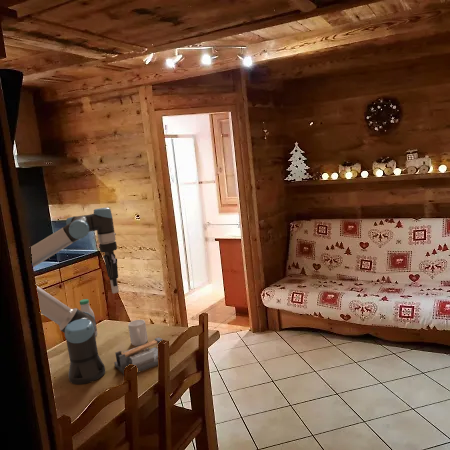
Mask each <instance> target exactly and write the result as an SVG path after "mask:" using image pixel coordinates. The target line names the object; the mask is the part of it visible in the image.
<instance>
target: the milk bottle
mask: <svg viewBox="0 0 450 450" xmlns="http://www.w3.org/2000/svg"><path fill="white" fill-rule="evenodd" d="M79 306H80V309H79V310H80V311H82V312H87V313H89V314H91V315H92V316H93V317H94V319H95V320H96V317H95V313H94V311H93V309H92V308H91V306H90V301H89V299H88V298H86V299H85V298H83V299H80V300H79ZM97 336H98V329H97V327H96V334H95V338H96V337H97Z"/></svg>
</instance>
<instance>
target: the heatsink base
mask: <svg viewBox="0 0 450 450" xmlns="http://www.w3.org/2000/svg"><path fill="white" fill-rule="evenodd" d="M154 340H155V341H157V342H158V343H159V342H160V341H162V340H163V341H164V339H163V338H161V337H156V338H154ZM137 347H138V346H135V347H133V348H131V349H128V350H125V351H123V352H122V350H119V351H117V352H114V353H115V358H116V361H114V362H113V363H114V367H115V368H116V369H117V371H119V372H120V373H122V375H124V369H125V367H126V366H128V365H129V364H133V365H136V366H137V368H138V372H139V371H142V372H144V371H147V370H150V369H152V368H154V367H157V366H159V365H158V347H155V346H153V347H152V348H151V347H148V348H146V349H144V350H141V351H139V352H137V353H134V354H132V355H130V356H127V357H125V354H122V353H125V352H127V351H130V350H132V349H134V348H137ZM119 354H120V356H119V357H118V355H119ZM121 354H122V355H121ZM149 368H150V369H149ZM146 369H147V370H146ZM143 370H144V371H143ZM139 373H140V372H139Z"/></svg>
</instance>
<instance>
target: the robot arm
mask: <svg viewBox="0 0 450 450" xmlns="http://www.w3.org/2000/svg"><path fill="white" fill-rule="evenodd" d="M65 221H66V225H65V226H63V227H61V228H60V229H59V230H57V231H55V232H53V233H52V234H50V235H48V236H46V237H45V238H44V239H42V240H40V241H38V242H37V243H35V244H33V245H32V246H30V247H31V254H32V263H33V268H35V267H36V266H38V265H40V264H41V263H43V262H45V261H46V260H48V259H50V258H51V257H53V256H55V254H58V253H59V252H60V251H62V250H64V249H66V248H67V247H68V246H71V245H72V244H73V243H75V242H77V241H78V240H81V239H83V238H85V237H86V236H88V234H89V232H96V233H97V234H96V235H97V240H98V244H99V245H98V246H99V252H100V253H104V255H102V256H103V257H102V258H103V261H104V263H105V264H104V265H105V269H106V274H107V277H108V278H109V281H110V287H111V293H112V294H117V293H120V289H119V283H118V279H119V269H118V268H119V267H118V258H117V257H116V254H115V252H114V251H117V250H118V245H117V241H116V240H117V239H116V236H117V235H116V234H117V233H115V226H114V220H113V214H112V209H111V208H110V207H100V208H99V207H98V208H95V209H94V210H93V213H91V214H86V215H76V216H70V217H67V218H66V220H65ZM37 292H38V298H39V305H40V310H41V313H40V314H41V315H43V316H45V317H46V318H47V319H49V320H51V321H52V322H53V323H55V324H57V325H58V326H59V330H60V331H61V332H63V333H64V337H65V341H66V347H67V352H68V357H69V368H68V374H67V377H68V381H69V382H70V384H73V385H86V384H90V383H92V382H94V381H97V380H99V379H100V378H102V377H103V376H104V375H105V374H106V367H105V364H104V362H103V360H102V359H101V357H100V355H99V350H98V346H97V340H96V337H95V334H96V328H97V322H96V318H95V319H94V317H95V316H94V317H93V316H92V315H91V314H89V313H87V312H82V311H80V310H81V309H79V308H77V307H74V308H71V307H70V306H68V305H67V304H65V303H63V302H61V301H60V300H59V299H58V298H56V297H54V296H53V295H51V294H50V293H48V292H47V291H45V290H44V289H43V288H42V287H40V286H38V285H37Z"/></svg>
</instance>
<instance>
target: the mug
mask: <svg viewBox="0 0 450 450" xmlns="http://www.w3.org/2000/svg"><path fill="white" fill-rule="evenodd" d="M127 325H128V326H127V327H128V332H129V333H128V334H129V340H130V343H131V345H132V346H135V347H139V346H141V345H144V344H146V343H148V342H149V339H148V331H147V324H146V321H145V320H144V319H134V320H132V321H129V323H128V324H127Z"/></svg>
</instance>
